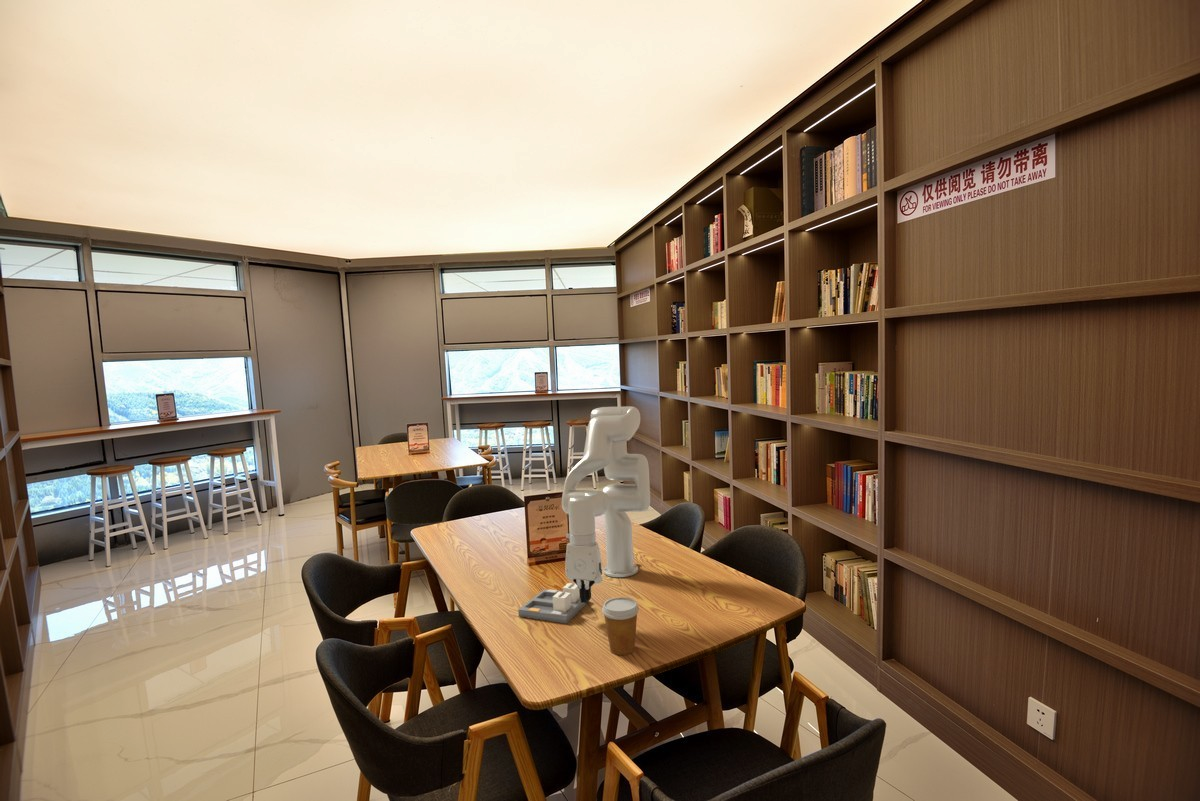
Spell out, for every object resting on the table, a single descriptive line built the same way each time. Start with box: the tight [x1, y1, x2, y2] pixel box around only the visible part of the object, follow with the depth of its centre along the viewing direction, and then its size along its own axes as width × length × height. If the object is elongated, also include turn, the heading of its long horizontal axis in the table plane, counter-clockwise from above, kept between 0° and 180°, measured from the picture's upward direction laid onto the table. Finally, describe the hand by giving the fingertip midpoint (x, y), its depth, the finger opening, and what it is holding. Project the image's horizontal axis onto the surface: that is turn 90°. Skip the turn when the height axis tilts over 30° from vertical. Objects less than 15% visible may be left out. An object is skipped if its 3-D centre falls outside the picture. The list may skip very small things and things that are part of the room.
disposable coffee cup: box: [601, 596, 640, 656], centre depth 142 cm, size 10×10×12 cm
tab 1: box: [553, 592, 571, 613], centre depth 164 cm, size 4×4×5 cm
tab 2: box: [562, 582, 581, 603], centre depth 170 cm, size 4×4×5 cm
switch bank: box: [517, 588, 590, 624], centre depth 169 cm, size 16×16×2 cm
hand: (585, 601), depth 160 cm, fingers closed
